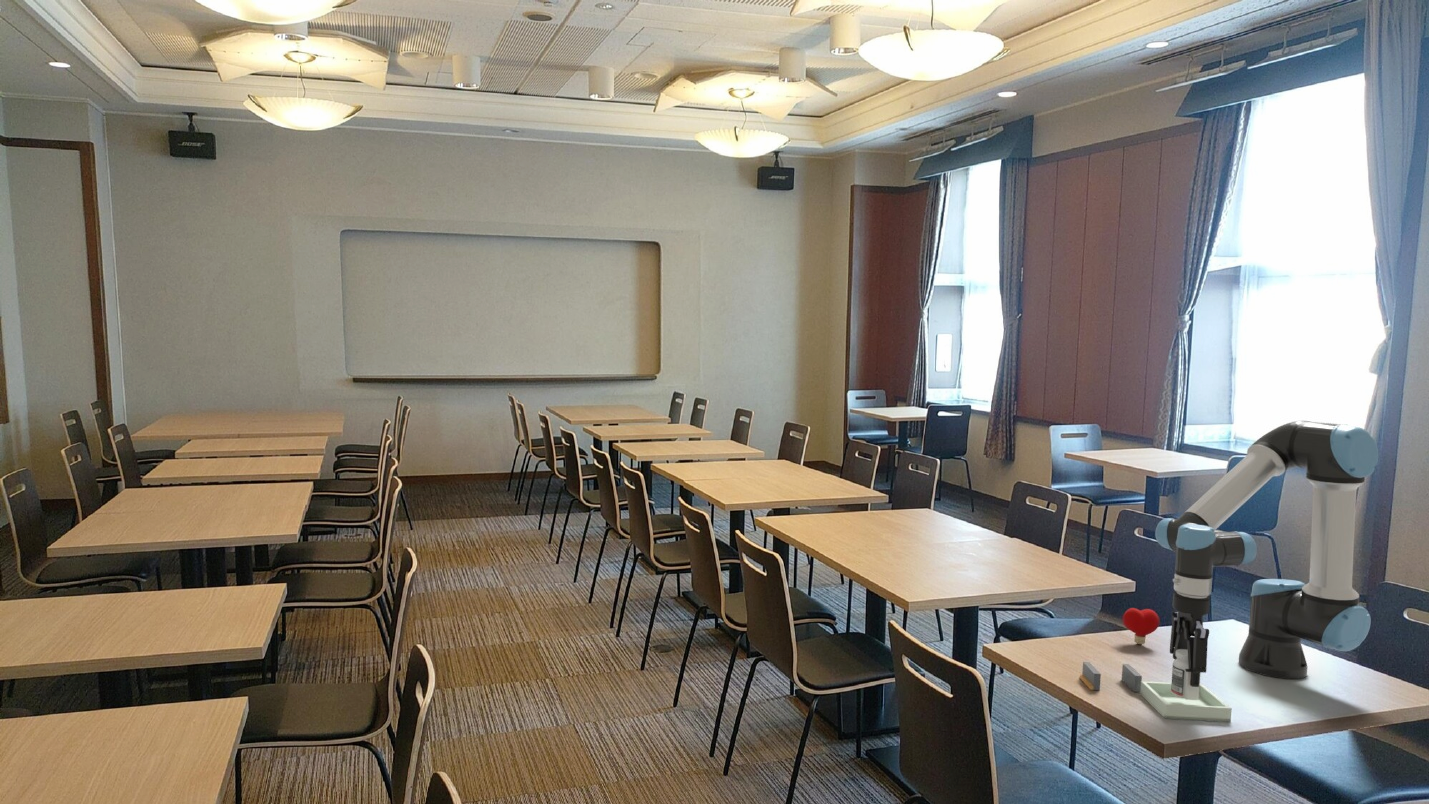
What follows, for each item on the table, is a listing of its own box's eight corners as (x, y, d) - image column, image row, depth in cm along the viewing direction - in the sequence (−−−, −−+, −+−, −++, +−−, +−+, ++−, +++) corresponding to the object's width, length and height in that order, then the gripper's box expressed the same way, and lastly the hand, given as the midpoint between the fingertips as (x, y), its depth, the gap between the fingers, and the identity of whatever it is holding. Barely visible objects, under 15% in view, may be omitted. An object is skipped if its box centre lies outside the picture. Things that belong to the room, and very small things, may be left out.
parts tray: (1201, 697, 217) (1202, 684, 217) (1230, 722, 203) (1231, 708, 203) (1140, 694, 218) (1141, 681, 218) (1165, 718, 204) (1166, 704, 204)
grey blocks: (1130, 680, 227) (1131, 664, 227) (1143, 692, 219) (1144, 676, 219) (1079, 677, 228) (1080, 661, 227) (1090, 689, 220) (1091, 673, 219)
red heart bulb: (1125, 647, 251) (1127, 611, 251) (1118, 639, 258) (1120, 604, 257) (1161, 650, 250) (1163, 614, 249) (1153, 642, 257) (1155, 606, 256)
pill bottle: (1198, 693, 212) (1201, 651, 211) (1199, 701, 207) (1202, 658, 206) (1170, 688, 214) (1173, 646, 213) (1171, 697, 209) (1173, 654, 208)
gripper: (1157, 582, 218) (1151, 677, 220) (1193, 605, 200) (1186, 709, 201) (1190, 583, 218) (1183, 679, 220) (1229, 606, 199) (1221, 711, 201)
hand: (1185, 693), depth 210 cm, fingers closed on pill bottle, 6 cm apart
